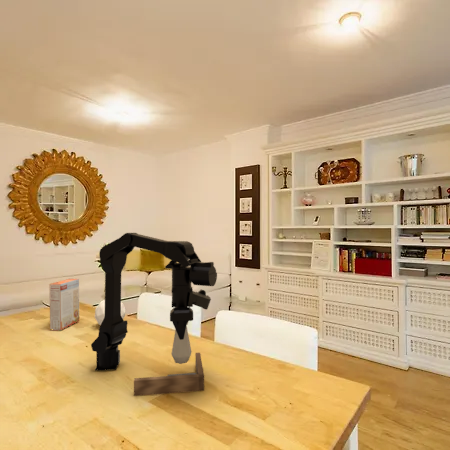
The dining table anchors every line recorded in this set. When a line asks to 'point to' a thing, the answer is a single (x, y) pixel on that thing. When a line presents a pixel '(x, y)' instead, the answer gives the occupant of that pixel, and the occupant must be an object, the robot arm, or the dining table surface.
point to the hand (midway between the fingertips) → (181, 337)
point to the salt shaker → (181, 348)
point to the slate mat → (181, 374)
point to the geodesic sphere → (101, 312)
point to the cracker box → (64, 303)
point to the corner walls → (171, 382)
